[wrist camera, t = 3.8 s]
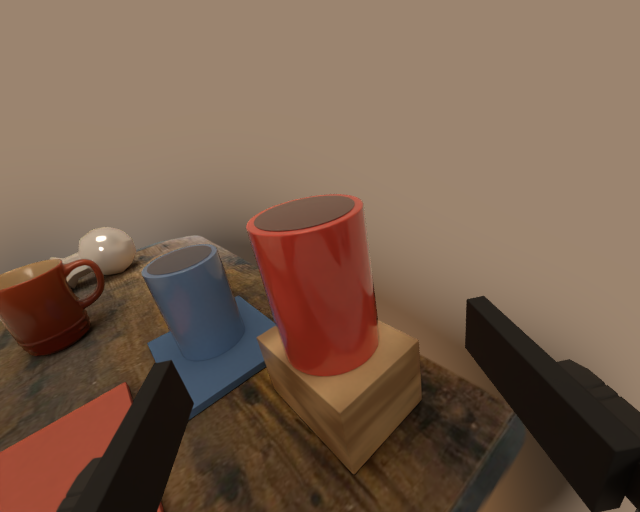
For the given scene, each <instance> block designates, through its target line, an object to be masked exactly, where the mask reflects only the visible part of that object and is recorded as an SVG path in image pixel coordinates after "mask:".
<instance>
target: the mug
mask: <svg viewBox="0 0 640 512" xmlns="http://www.w3.org/2000/svg"><path fill="white" fill-rule="evenodd" d="M83 265H87V266H90V267H91V268H92V270H93V271H94V273H95V276H96V279H97V286H96V288H95V290H94V291H93V292H92V293H91V294H90V295H88V296H86V297H83V298H78V297H77V296H76V295H75V294H74V292H73V291H72V290H71V288H70V286H69V285H68V282H67V279H66V278H67V276H68V275H69V274H70V273H71V272H72V271H73V270H74V269H75V268H77V267H80V266H83ZM104 285H105V281H104V276H103V273H102V271H101V269H100V267H99V266H98V264H97V263H96V262H94V261H93V260H90V259H79V260H76V261H73V262H70V263H67V264H64V263H63V261H62V260H61V259H51V260H45V261H40V262H36V263H33V264H29V265H26V266H23V267H20V268H17V269H14V270H11V271H9V272H6V273H3V274H1V275H0V319H1V321H2V322H3V324H4V325H5V327H6V328H7V330H8V331H9V332H10V334H11V335H12V336H13V338H14V339H15V340H16V341H17V343H18V345H19V346H21V347H22V348H23V349H24V350H25V351H26V352H28V353H29V354H30V355H33V356H45V355H50V354H54V353H57V352H59V351H62V350H64V349H66V348H68V347H70V346H71V345H73V344H75V343H76V342H78V341H79V340H80V339H81V338H83V337H84V336H85V335H86V333H87V332H88V330H89V329H90V326H91V323H90V320H89V316H88V315H87V311H86V310H85V308H86V307H88V306H90V305H91V304H92V303H94V302H95V301H96V300H97V299H98V298H99V297H100V295H101V294H102V292H103V290H104Z"/></svg>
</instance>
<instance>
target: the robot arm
mask: <svg viewBox="0 0 640 512" xmlns="http://www.w3.org/2000/svg"><path fill="white" fill-rule="evenodd" d="M465 348H466V349H467V350H468V352H469V353H470V354H471V356H472V357H473V358H474V360H475V361H476V362H477V363H478V365H479V366H480V367H481V369H482V370H483V371H484V372H485V374H486V375H487V377H488V378H489V379H490V380H491V382H492V383H493V384H494V386H495V387H496V388H497V390H498V391H499V392H500V393H501V395H502V396H503V397H504V399H505V400H506V401H507V403H508V404H509V405H510V407H511V408H512V409H513V410H514V412H515V413H516V414H517V416H518V417H519V418H520V420H521V421H522V422H523V424H524V425H525V426H526V427H527V429H528V430H529V431H530V433H531V434H532V435H533V437H534V438H535V439H536V440H537V442H538V443H539V444H540V446H541V447H542V448H543V450H544V451H545V452H546V453H547V455H548V456H549V457H550V459H551V460H552V461H553V463H554V464H555V465H556V467H557V468H558V469H559V471H560V472H561V473H562V474H563V476H564V477H565V478H566V480H567V481H568V482H569V484H570V485H571V486H572V487H573V489H574V490H575V491H576V493H577V494H578V495H579V497H580V498H581V499H582V501H583V502H584V503H585V504H586V506H587V507H588V508H589V510H590V511H591V512H602V511H606V510H611V509H616V508H619V507H620V505H621V503H622V501H623V499H624V496H626V497H627V498H628V499H629V500H630V501H631V503H632V504H633V505H634V506H635V507H636V508H637V509H636V511H635V512H640V412H639V411H638V410H637V409H635V408H634V407H633V406H632V405H631V404H629V403H628V402H627V401H626V400H625V399H623V398H622V397H619V396H618V394H617V393H616V392H615V391H614V390H613V389H612V388H610V387H609V386H608V385H607V386H606V385H605V383H604V382H603V381H602V380H601V379H600V378H598V377H597V376H596V375H595V374H593V373H592V372H591V371H590V370H589V369H587V368H585V367H583V366H581V365H579V364H577V363H575V362H574V361H572V360H570V359H569V360H565V361H560V362H556V361H555V360H554V359H553V358H551V357H550V356H549V355H548V354H547V353H546V352H545V351H544V350H543V349H542V348H540V347H539V346H538V345H537V344H536V343H535V342H534V341H533V340H532V339H530V338H529V337H528V336H527V335H526V334H525V333H524V332H523V331H522V330H521V329H520V328H519V327H517V326H516V325H515V324H514V323H513V322H512V321H511V320H510V319H509V318H508V317H506V316H505V315H504V314H503V313H502V312H501V311H500V310H499V309H497V307H495V306H494V305H493V304H492V303H491V302H490V301H489V300H488V299H487V298H485V296H481V297H476V298H471V299H467V307H466V339H465ZM193 405H194V402H193V400H192V398H191V396H190V394H189V392H188V390H187V388H186V386H185V385H184V383H183V381H182V379H181V377H180V375H179V373H178V371H177V369H176V367H175V365H174V363H173V361H172V360H169V361H164V362H159V363H154V365H153V367H152V369H151V370H150V372H149V374H148V376H147V377H146V379H145V381H144V383H143V385H142V386H141V388H140V390H139V392H138V393H137V395H136V397H135V399H134V401H133V402H132V404H131V406H130V408H129V410H128V411H127V413H126V415H125V417H124V418H123V420H122V422H121V424H120V426H119V427H118V429H117V431H116V433H115V435H114V436H113V438H112V440H111V442H110V443H109V445H108V447H107V449H106V451H105V452H104V454H103V456H102V457H98V458H93V459H92V460H91V461H90V462H89V463H88V464H87V465H86V467H85V468H84V469H83V470H82V471H81V472H80V473H79V474H78V475H77V477H76V478H75V480H74V482H73V483H72V485H71V487H70V488H69V490H68V492H67V493H66V497H65V498H64V499H63V500H62V502H61V503H60V505H59V507H58V508H57V510H56V512H157V511H158V508H159V505H160V502H161V499H162V496H163V493H164V490H165V487H166V484H167V481H168V478H169V476H170V473H171V470H172V467H173V464H174V461H175V458H176V455H177V452H178V449H179V446H180V443H181V440H182V437H183V435H184V432H185V429H186V426H187V423H188V420H189V417H190V414H191V411H192V408H193Z"/></svg>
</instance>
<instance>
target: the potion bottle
mask: <svg viewBox="0 0 640 512" xmlns="http://www.w3.org/2000/svg"><path fill="white" fill-rule="evenodd" d="M135 254H136V249H135V245H134V242H133V239H132V238H130V237H129V236H128V235H127V234H126V233H124V232H123V231H122V230H119V229H114V228H110V227H102V228H97V229H92V230H91V231H90V232H88V233H87V234H86V235H85V236H83V237H82V238H81V239H80V241H79V248H78V253H76V254H73V255H71V256H69V257H67V258H65V259H62V258H54V257H51V258H50V260H51V259H61V260H62V261H63V263H64V264H67V263H70V262H73V261H76V260H79V259H90V260H93V261H94V262H96V263H97V264H98V266H99V267H100V269H101V271H102V273H103V275H112V274H117V273H122V272H123V271H124V270H125V269H126V268H127V267H128V266H129V265H130V264H131V263H132V262H133V260H134V257H135ZM91 272H94V271H93V270H92V268H91V267H90V266H87V265H83V266H80V267H77V268H75V269H74V270H73V271H72V272H71V273H70V274H69V275H68V276H67V278H66V279H67V282H68V285H69V286H70V287H71V288H74V289H75V287H76V284H77V282H78V280H79V278H81V277H83V276H85V275H87V274H89V273H91Z"/></svg>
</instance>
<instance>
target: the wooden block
mask: <svg viewBox="0 0 640 512" xmlns="http://www.w3.org/2000/svg"><path fill="white" fill-rule="evenodd" d="M378 325H379V333H380V339H379V344H378V347H377V349H376V351H375V352H374V354H373V355H372V356H371V358H370V359H368V360H367V361H366V362H365V363H364V364H362V365H361V366H359V367H358V368H356V369H354V370H352V371H349V372H347V373H343V374H340V375H335V376H314V375H309V374H306V373H303V372H301V371H299V370H297V369H296V368H294V367H293V366H292V365H291V364H290V363H289V362H288V360H287V359H286V356H285V354H284V350H283V347H282V344H281V341H280V337H279V334H278V331H277V327H276V326H274V327H273V328H271V329H269V330H268V331H266V332H265V333H263V334H261V335H260V336H258V337H257V341H258V344H259V347H260V350H261V353H262V355H263V358H264V361H265V364H266V367H267V370H268V373H269V376H270V378H271V381H272V384H273V387H274V390H275V391H276V392H277V393H278V394H279V395H280V396H281V397H282V398H283V399H284V400H285V401H286V403H287V404H288V405H289V406H290V407H291V408H292V409H293V410H294V411H295V412H296V413H297V414H298V415H299V417H300V418H301V419H302V420H303V421H304V422H305V423H306V424H307V425H308V426H309V427H310V428H311V429H312V431H313V432H314V433H315V434H316V435H317V436H318V437H319V438H320V439H321V440H322V441H323V442H324V443H325V445H326V446H327V447H328V448H329V449H330V450H331V451H332V452H333V453H334V454H335V455H336V456H337V458H338V459H339V460H340V461H341V462H342V463H343V464H344V465H345V466H346V467H347V468H348V469H349V470H350V472H351V473H352V474H353V475H354V474H355V473H356V472H357V471H358V470H359V469H360V468H361V467H362V466H363V464H364V463H365V462H366V461H367V460H368V459H369V458H370V457H371V455H372V454H373V453H374V452H375V451H376V450H377V449H378V448H379V447H380V445H381V444H382V443H383V442H384V441H385V440H386V439H387V438H388V437H389V435H390V434H391V433H392V432H393V431H394V430H395V429H396V428H397V427H398V425H399V424H400V423H401V422H402V421H403V420H404V419H405V418H406V417H407V415H408V414H409V413H410V412H411V411H412V410H413V409H414V408H415V407H416V405H417V404H418V403H419V402H420V401H421V400H422V391H421V373H420V355H419V340H417V339H415V338H413V337H411V336H409V335H407V334H405V333H403V332H401V331H399V330H397V329H395V328H393V327H391V326H389V325H387V324H385V323H383V322H381V321H379V320H378Z"/></svg>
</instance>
